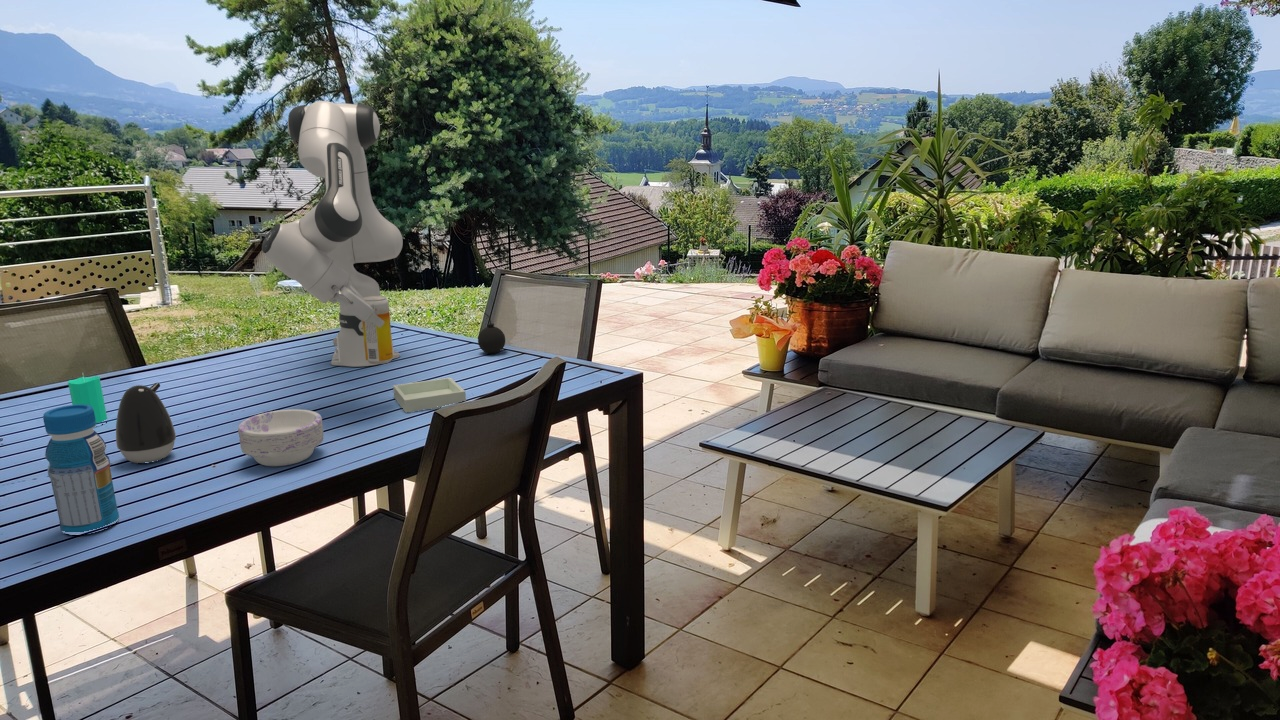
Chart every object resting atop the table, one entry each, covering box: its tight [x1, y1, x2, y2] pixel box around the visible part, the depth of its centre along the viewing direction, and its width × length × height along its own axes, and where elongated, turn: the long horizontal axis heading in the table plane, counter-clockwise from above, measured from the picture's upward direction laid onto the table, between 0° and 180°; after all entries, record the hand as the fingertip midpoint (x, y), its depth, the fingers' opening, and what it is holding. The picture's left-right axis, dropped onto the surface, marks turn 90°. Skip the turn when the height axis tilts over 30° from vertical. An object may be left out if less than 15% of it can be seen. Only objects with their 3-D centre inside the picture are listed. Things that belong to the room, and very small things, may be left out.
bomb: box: [477, 312, 506, 355], centre depth 247 cm, size 8×8×12 cm
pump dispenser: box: [115, 382, 177, 464], centre depth 168 cm, size 10×10×15 cm
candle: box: [67, 372, 108, 423], centre depth 190 cm, size 6×6×12 cm
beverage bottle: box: [42, 404, 120, 532], centre depth 137 cm, size 8×8×20 cm
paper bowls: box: [237, 408, 324, 467], centre depth 167 cm, size 15×15×8 cm
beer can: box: [362, 295, 393, 365], centre depth 197 cm, size 6×6×15 cm
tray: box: [392, 377, 467, 414], centre depth 203 cm, size 14×14×3 cm
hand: (379, 321), depth 196 cm, fingers closed on beer can, 6 cm apart
